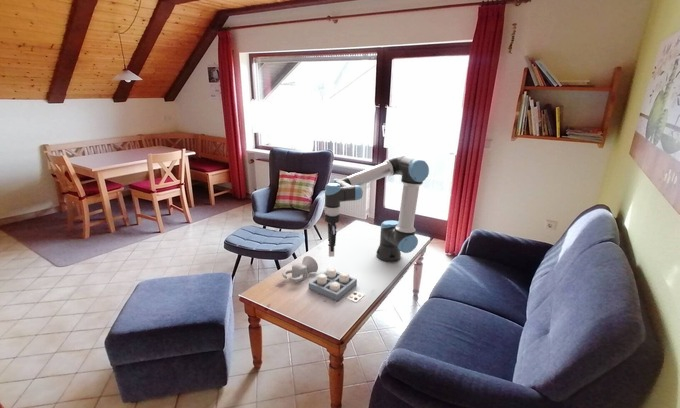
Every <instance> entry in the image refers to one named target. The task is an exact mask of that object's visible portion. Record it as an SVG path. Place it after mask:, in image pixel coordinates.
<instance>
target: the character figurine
mask: <svg viewBox="0 0 680 408" xmlns="http://www.w3.org/2000/svg"><path fill="white" fill-rule="evenodd" d="M318 269H319V265H318V262H317V261H316V259H314V257H312V256H309V255H306V256H304V257H303V258H302V262H301V263H294V264H292V266H291V269H285V270H283V271H282V277H283V278H284V279H286V280H288V279H289V281H291V282H300V281H304V280H305V279H306V278H307V277H308V274H309V273H317V271H318ZM288 274H291V276H292V277H289V278H288V276H287V275H288Z"/></svg>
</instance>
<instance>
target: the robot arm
mask: <svg viewBox="0 0 680 408" xmlns="http://www.w3.org/2000/svg"><path fill="white" fill-rule="evenodd" d="M429 174H430V168H429V165H428V164H427V162H426V161H425V160H424V159H422V158H419V157H415V156H411V155H407V154H401V155H396V156H393V157H390V158H387V159H385V160H383V162H382V163H380V164H377V165H373V166H372V167H369V168H366V169H364V170H362V171H361V170H360V171H359V172H356V173H353V174H351V175H348V176H346V177H343V178H334V179H332V181H330V182H327V184H325V189H324V207H323V210H324V221H325V222H326V223H327V234H328V235H327V237H328V238H327V241H328V244H327V245H328V257H329V258H331V257H332V258H333V257H335V247H336V241H337V232H338V231H337V225H336V224H337V223H339V222H340V221H341V220H340V217H341V215H340V213H341V203H343V202H352V201H353V202H354V201H359V200H362V199H363V195H364V193H363V188H362V187H363V186H364V185H367V184H370V183H372V182H375V181H377V180H380V179H382V178H385V177H387V176H389V177H392V176H394V175H395V176H396V175H397V176H398V175H399V176H401V180H400V181H401V183H402V185H403V186H402V195H401V201H400V206H399V207H400V208H399V216H398V220H384V221H383V222H381V224H380V238H379V245H378V248H377V249H376V257H377V259H379V260H380V261H384V262H390V263H391V262H397V261H399V260H400V259H401V256H402V254H401V253H403V254H409V253H411V252H413V251H414V250H416V248H417V246H418V244H419V239H418V237H417V236H416V228H415V227H414V223H415V217H416V211H417V205H418V203H417V202H418V197H419V191H420V186H421V185H423V183H424V181H426V179H427V178H428V177H429Z"/></svg>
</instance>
